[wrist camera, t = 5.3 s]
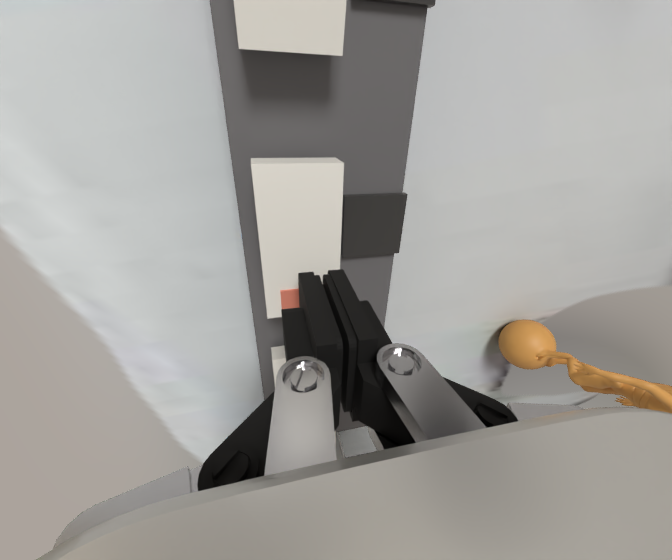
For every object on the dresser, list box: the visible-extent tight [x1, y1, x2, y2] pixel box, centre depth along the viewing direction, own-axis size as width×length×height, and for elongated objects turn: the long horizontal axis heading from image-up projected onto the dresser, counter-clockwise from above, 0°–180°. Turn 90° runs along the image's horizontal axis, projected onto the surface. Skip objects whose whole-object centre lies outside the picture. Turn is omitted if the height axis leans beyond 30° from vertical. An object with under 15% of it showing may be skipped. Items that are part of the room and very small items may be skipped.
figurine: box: [499, 320, 672, 413], centre depth 21 cm, size 8×6×12 cm
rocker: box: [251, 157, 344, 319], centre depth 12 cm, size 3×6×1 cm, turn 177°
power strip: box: [210, 0, 435, 432], centre depth 13 cm, size 7×36×4 cm, turn 178°
